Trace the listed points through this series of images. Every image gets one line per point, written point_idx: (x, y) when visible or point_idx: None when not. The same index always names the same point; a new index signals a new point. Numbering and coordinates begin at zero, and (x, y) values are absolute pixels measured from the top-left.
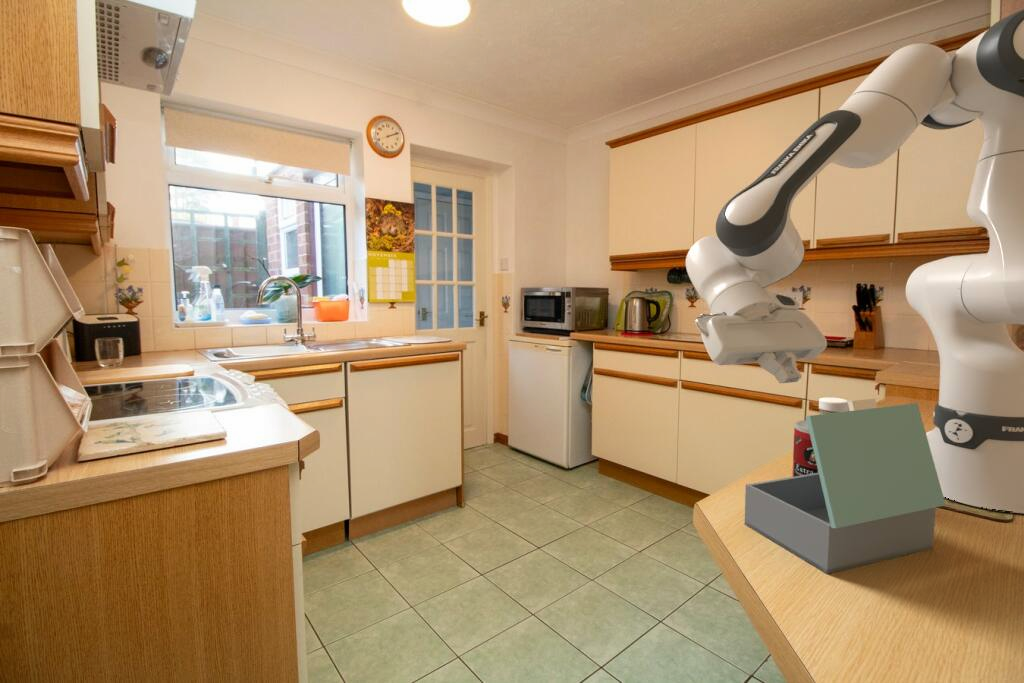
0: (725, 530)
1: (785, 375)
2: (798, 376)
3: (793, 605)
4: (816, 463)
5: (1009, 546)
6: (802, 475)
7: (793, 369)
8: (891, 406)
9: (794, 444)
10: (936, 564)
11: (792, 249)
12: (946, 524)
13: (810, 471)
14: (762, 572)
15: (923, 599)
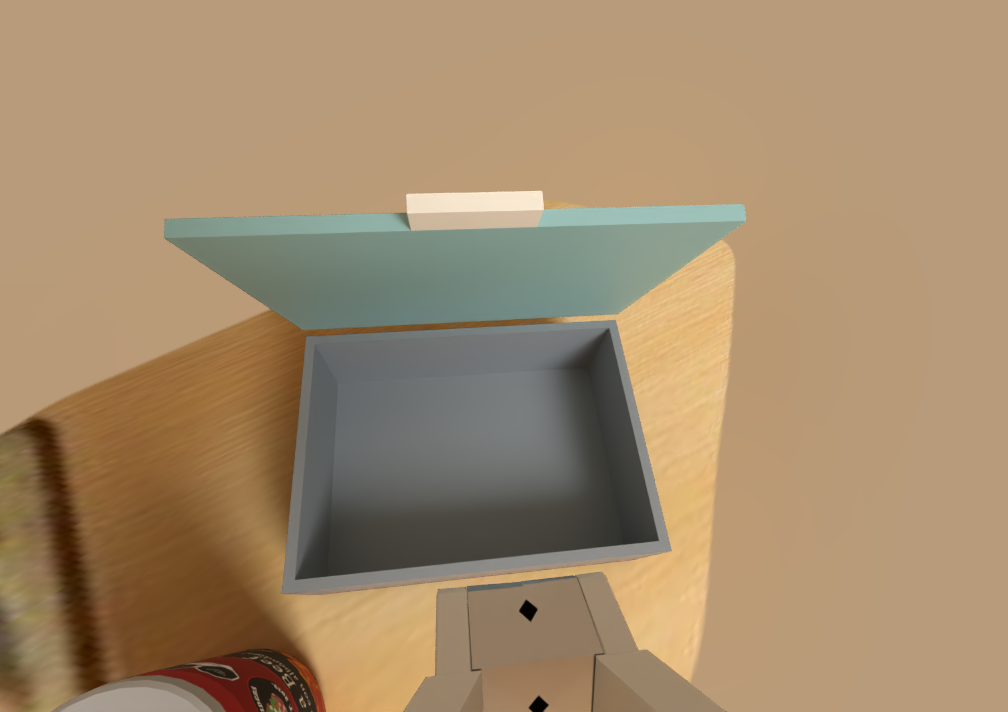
0: (690, 544)
1: (607, 583)
2: (472, 586)
3: (692, 320)
4: (283, 695)
5: (186, 351)
6: (454, 573)
7: (488, 642)
8: (329, 215)
9: None
10: None
11: None
12: (180, 445)
13: (302, 706)
14: (693, 393)
15: None
